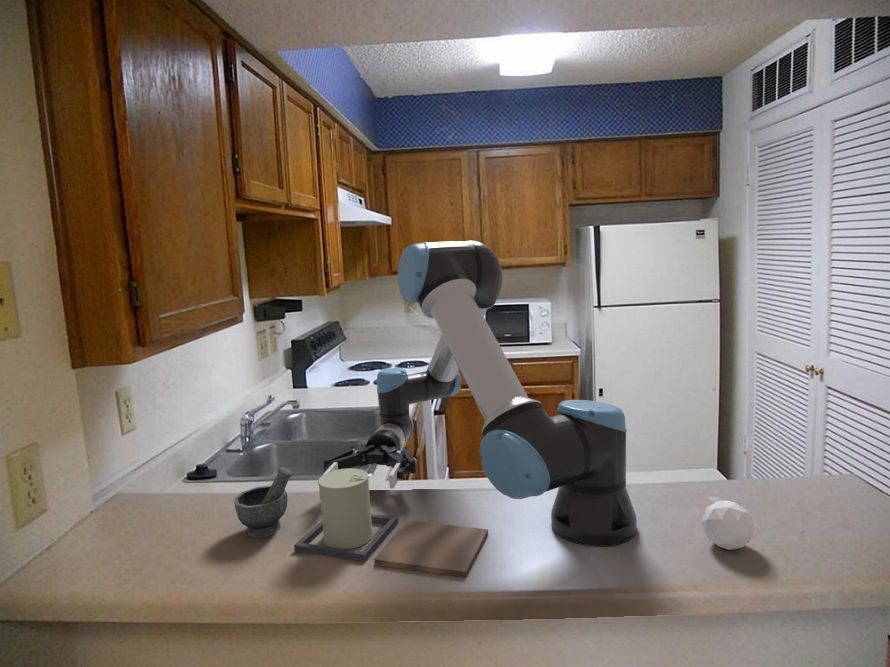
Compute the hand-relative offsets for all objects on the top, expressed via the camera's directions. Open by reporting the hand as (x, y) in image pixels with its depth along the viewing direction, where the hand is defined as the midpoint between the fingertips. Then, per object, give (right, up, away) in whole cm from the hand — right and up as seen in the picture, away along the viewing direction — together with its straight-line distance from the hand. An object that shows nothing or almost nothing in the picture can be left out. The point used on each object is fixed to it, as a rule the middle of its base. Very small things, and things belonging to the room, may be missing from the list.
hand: (357, 481), depth 112 cm
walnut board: (+15, -8, -13) cm, 22 cm away
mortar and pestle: (-17, -9, -2) cm, 19 cm away
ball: (+65, -6, -17) cm, 67 cm away
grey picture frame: (-1, -8, -7) cm, 11 cm away
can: (-1, -9, -7) cm, 11 cm away
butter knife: (+71, -5, -11) cm, 72 cm away
